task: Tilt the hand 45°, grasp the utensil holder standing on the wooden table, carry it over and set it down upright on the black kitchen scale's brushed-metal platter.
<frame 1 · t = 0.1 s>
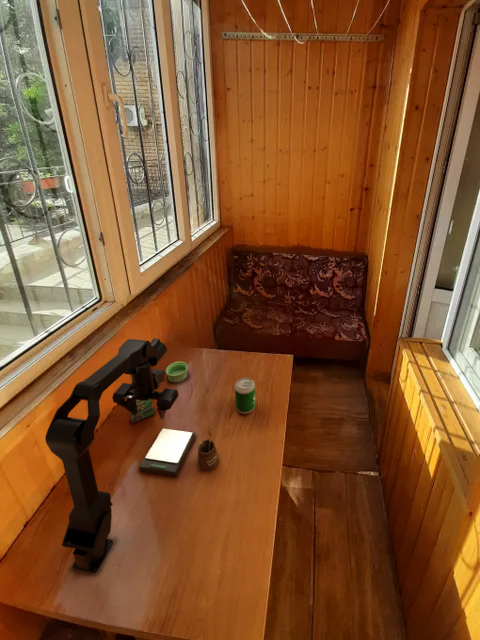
hand: (149, 416, 98), 15 cm above the table, tool pointing down, fingers open, 9 cm apart
coffee box: (142, 417, 116), on the table
kitchen scale: (169, 453, 102), on the table
ramekin: (178, 376, 136), on the table
utensil holder: (208, 462, 100), on the table
soda can: (245, 408, 120), on the table
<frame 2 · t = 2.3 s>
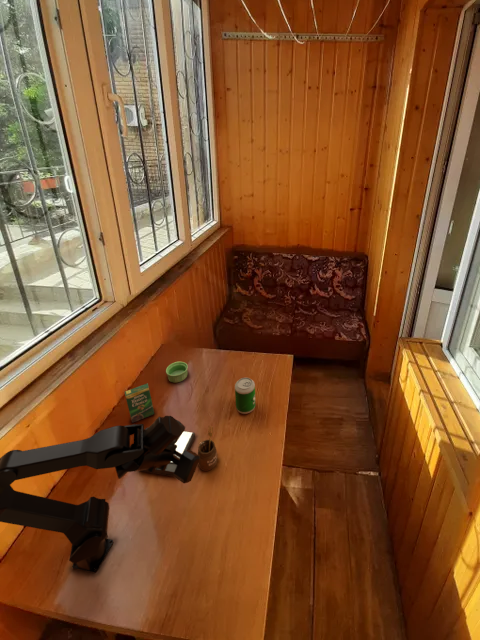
hand: (185, 451, 89), 13 cm above the table, tool tilted 45°, fingers open, 9 cm apart
nothing on the table moved.
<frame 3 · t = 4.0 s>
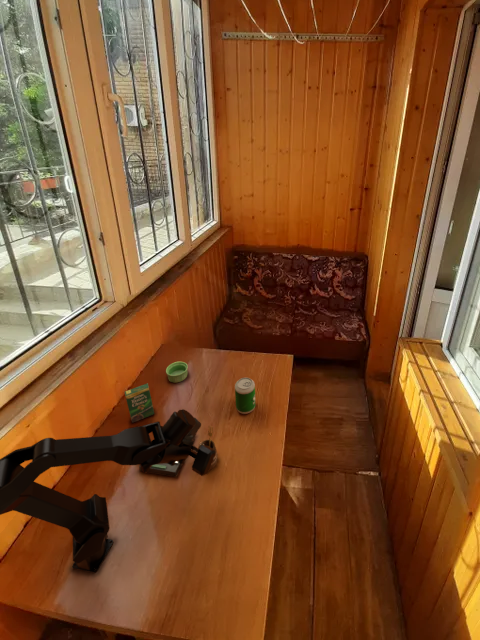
hand: (201, 446, 94), 9 cm above the table, tool tilted 45°, fingers open, 9 cm apart
nothing on the table moved.
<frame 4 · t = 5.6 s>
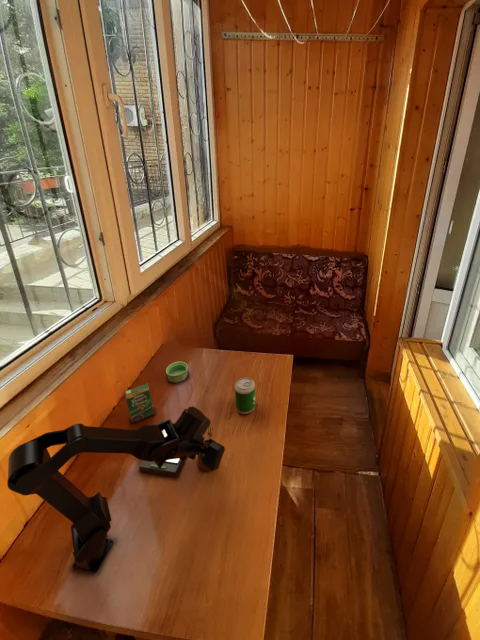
hand: (209, 443, 99), 7 cm above the table, tool tilted 45°, fingers closed on utensil holder, 5 cm apart
utensil holder: (208, 462, 100), on the table, touching gripper
everything else where it was.
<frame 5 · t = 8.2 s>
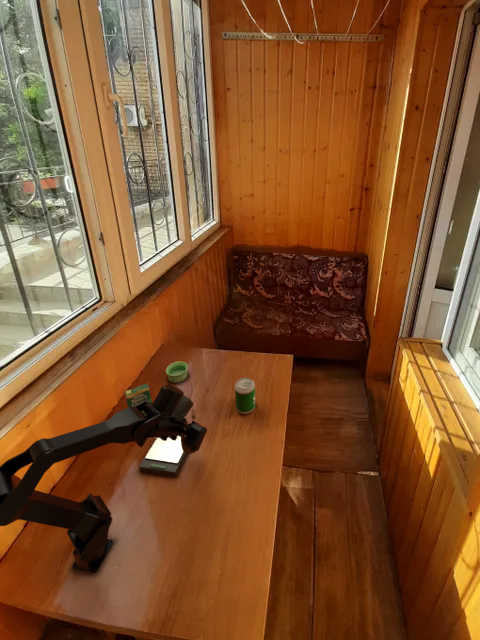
hand: (193, 426, 98), 12 cm above the table, tool tilted 45°, fingers closed on utensil holder, 5 cm apart
utensil holder: (191, 446, 99), point 5 cm above the table, touching gripper
everything else where it was.
when the fingers open (9 cm above the table, at t = 11.0 s): utensil holder stays where it is, resting on kitchen scale.
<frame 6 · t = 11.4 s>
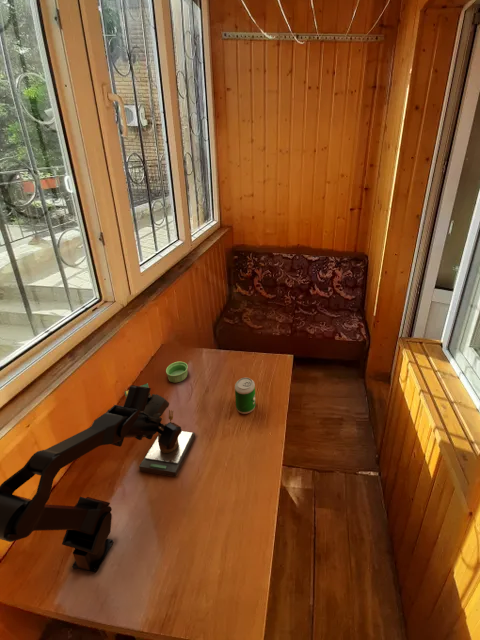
hand: (170, 425, 101), 9 cm above the table, tool tilted 45°, fingers open, 9 cm apart
utensil holder: (169, 445, 102), point 2 cm above the table, touching kitchen scale
everything else where it was.
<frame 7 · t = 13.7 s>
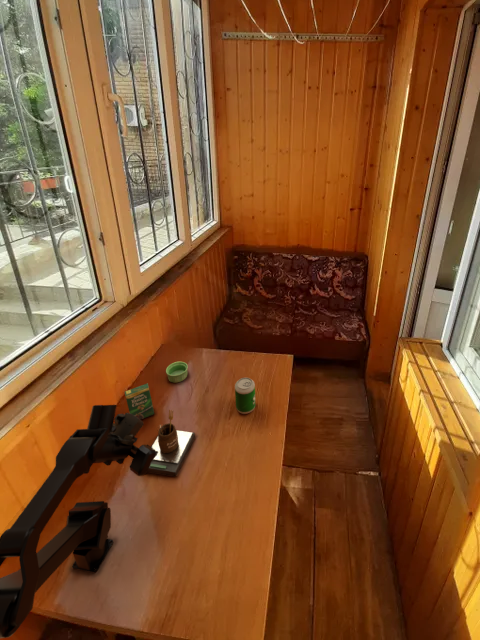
hand: (146, 446, 93), 10 cm above the table, tool tilted 45°, fingers open, 9 cm apart
nothing on the table moved.
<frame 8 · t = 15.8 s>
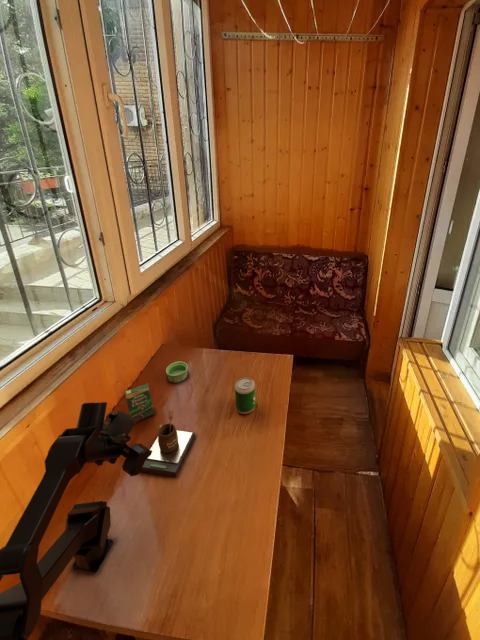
hand: (140, 445, 90), 14 cm above the table, tool tilted 45°, fingers open, 9 cm apart
nothing on the table moved.
at the end: utensil holder inside the target area on the kitchen scale (0.2 cm from its centre), point 2.3 cm above the kitchen scale's base; utensil holder tilted 0°; the gripper is holding nothing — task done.
